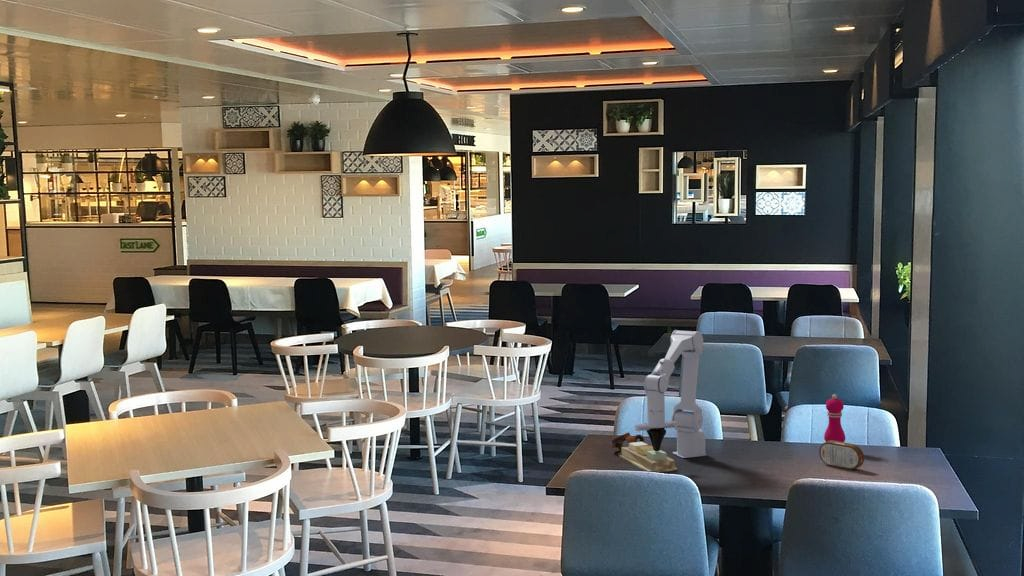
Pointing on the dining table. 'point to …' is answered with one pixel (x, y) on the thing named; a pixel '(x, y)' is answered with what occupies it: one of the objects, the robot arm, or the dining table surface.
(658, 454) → the sage key
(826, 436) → the pepper mill
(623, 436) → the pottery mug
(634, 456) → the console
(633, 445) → the ivory key
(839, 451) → the tin
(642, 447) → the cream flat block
